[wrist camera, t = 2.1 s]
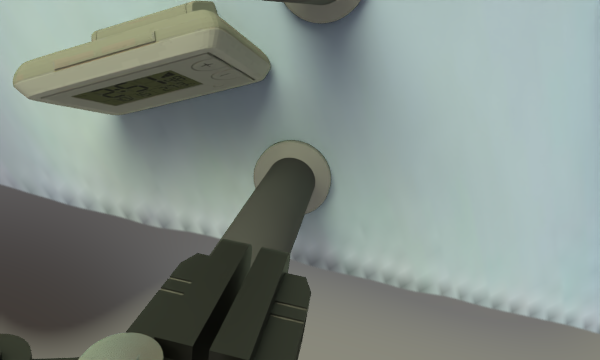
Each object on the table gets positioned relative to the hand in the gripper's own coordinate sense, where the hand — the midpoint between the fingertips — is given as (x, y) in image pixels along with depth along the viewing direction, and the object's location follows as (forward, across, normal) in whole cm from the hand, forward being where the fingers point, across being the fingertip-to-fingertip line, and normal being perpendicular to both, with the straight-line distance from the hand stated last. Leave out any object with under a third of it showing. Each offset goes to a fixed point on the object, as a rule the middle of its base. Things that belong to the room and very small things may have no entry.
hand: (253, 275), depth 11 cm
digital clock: (+27, +14, 0) cm, 31 cm away
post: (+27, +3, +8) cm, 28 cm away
